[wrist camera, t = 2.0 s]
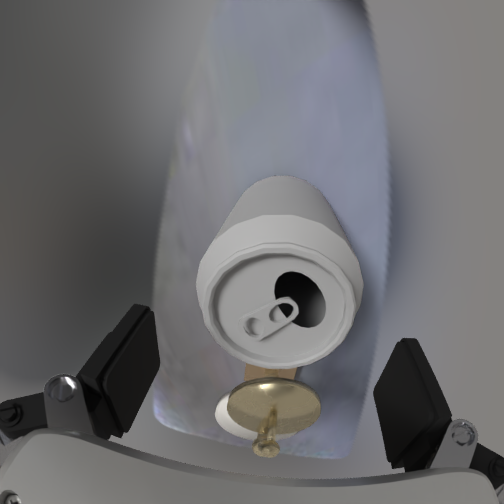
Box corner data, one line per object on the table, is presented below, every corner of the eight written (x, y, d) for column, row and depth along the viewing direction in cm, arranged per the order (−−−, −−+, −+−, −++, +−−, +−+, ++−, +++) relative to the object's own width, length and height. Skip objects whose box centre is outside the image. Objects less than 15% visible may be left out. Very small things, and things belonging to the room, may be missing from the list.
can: (347, 242, 22) (392, 346, 11) (263, 280, 24) (245, 397, 13) (303, 155, 20) (326, 189, 9) (215, 203, 22) (149, 282, 11)
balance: (249, 286, 25) (217, 425, 12) (319, 295, 24) (336, 436, 12) (239, 387, 30) (217, 494, 18) (291, 393, 30) (286, 502, 18)
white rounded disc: (217, 380, 30) (215, 388, 29) (314, 392, 30) (314, 400, 28) (216, 427, 35) (215, 434, 34) (295, 437, 34) (295, 444, 33)
